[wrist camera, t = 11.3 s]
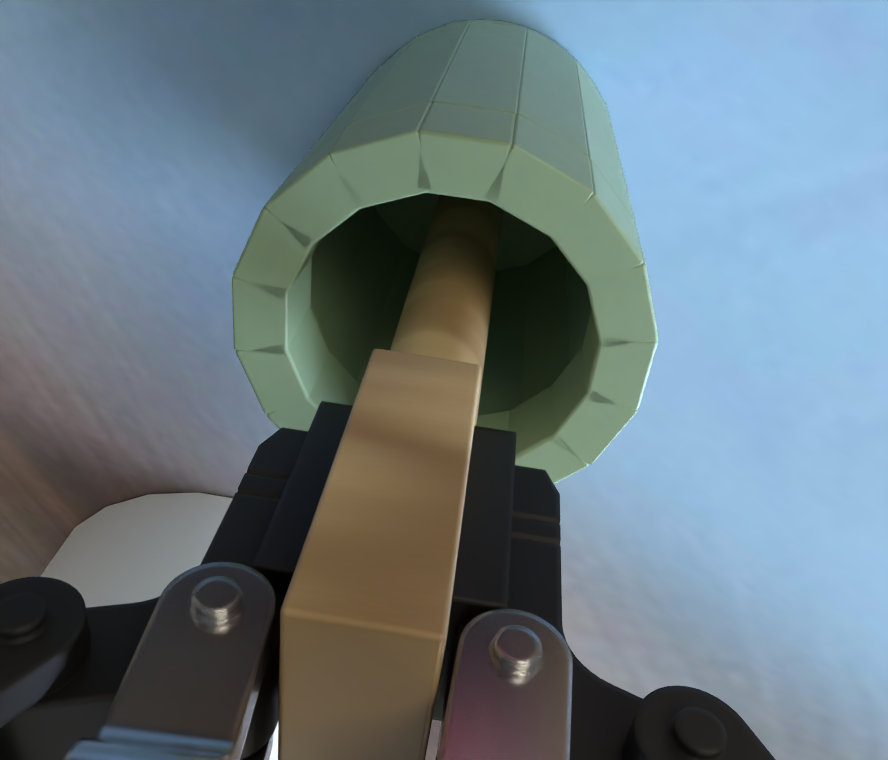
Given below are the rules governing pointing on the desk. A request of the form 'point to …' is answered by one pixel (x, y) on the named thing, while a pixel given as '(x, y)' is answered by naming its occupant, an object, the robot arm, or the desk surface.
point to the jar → (406, 226)
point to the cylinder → (139, 549)
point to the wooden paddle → (392, 517)
